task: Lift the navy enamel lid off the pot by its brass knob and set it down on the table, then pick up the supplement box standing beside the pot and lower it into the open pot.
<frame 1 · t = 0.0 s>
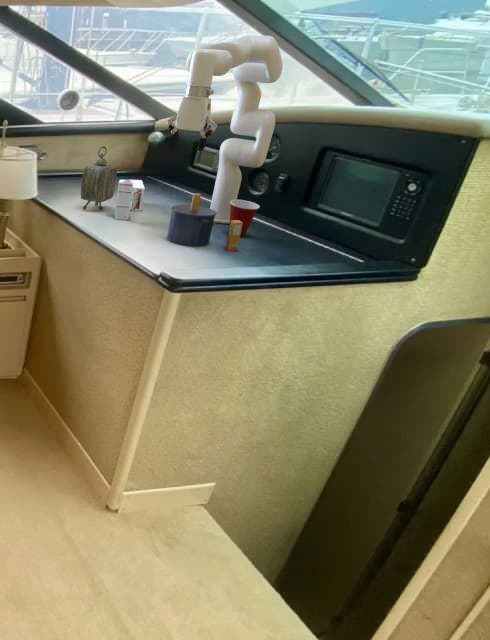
hand: (187, 148, 202), 31 cm above the counter, tool pointing down, fingers open, 9 cm apart
supplement box: (230, 250, 210), on the counter
lid: (193, 211, 212), point 10 cm above the counter, touching pot
syrup box: (121, 218, 243), on the counter
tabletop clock: (96, 209, 254), on the counter
plastic cup: (237, 235, 228), on the counter
pot: (187, 240, 217), on the counter
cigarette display: (133, 206, 263), on the counter
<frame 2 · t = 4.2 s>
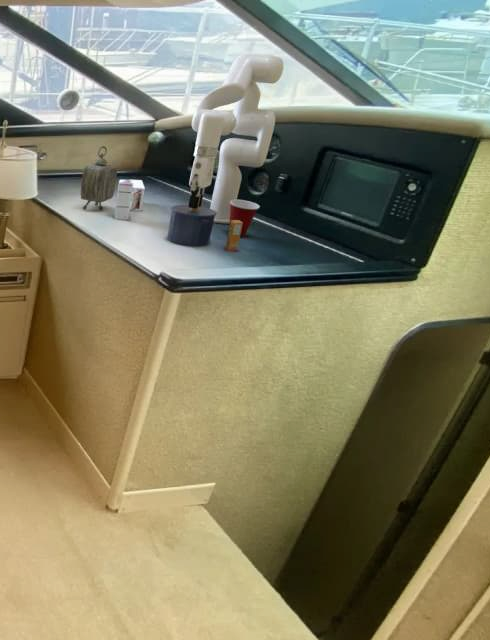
hand: (194, 206, 211), 12 cm above the counter, tool pointing down, fingers closed on lid, 2 cm apart
lid: (193, 211, 212), point 11 cm above the counter, touching gripper, pot
everything else where it was.
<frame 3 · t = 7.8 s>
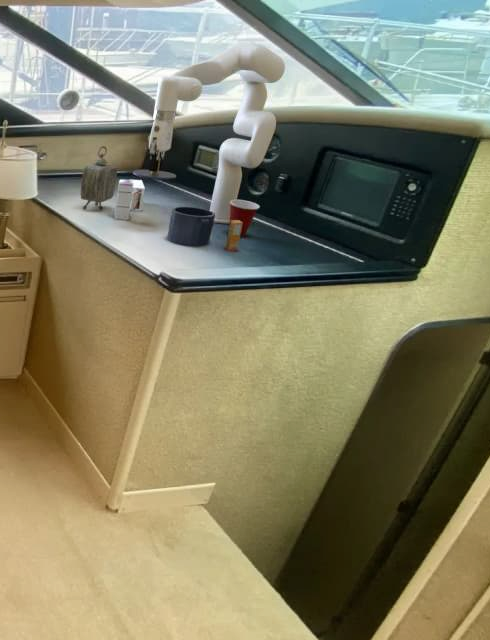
hand: (154, 170, 219), 21 cm above the counter, tool pointing down, fingers closed on lid, 2 cm apart
lid: (154, 175, 220), point 20 cm above the counter, touching gripper
everything else where it was.
when the fingers open (2 cm above the counter, at t = 11.4 s): lid stays where it is, point 1 cm above the counter.
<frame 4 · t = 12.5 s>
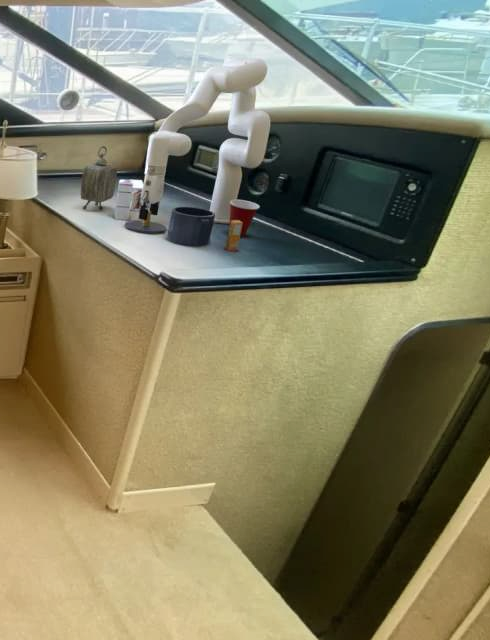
hand: (148, 217, 227), 4 cm above the counter, tool pointing down, fingers open, 9 cm apart
lid: (145, 227, 229), point 1 cm above the counter
everything else where it was.
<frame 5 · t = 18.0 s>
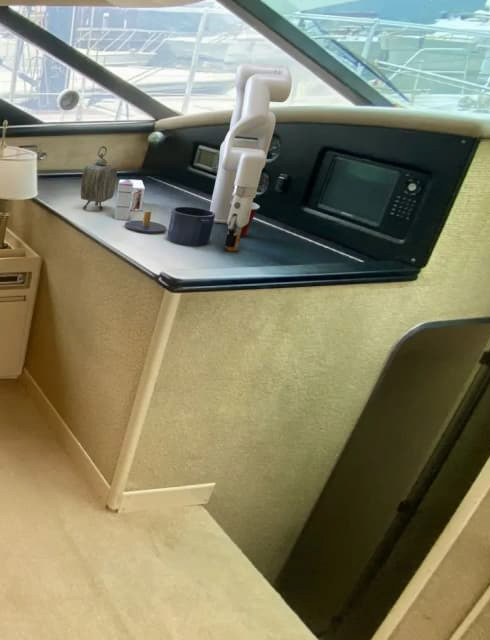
hand: (231, 244, 209), 2 cm above the counter, tool pointing down, fingers closed on supplement box, 4 cm apart
supplement box: (230, 250, 210), on the counter, touching gripper
everything else where it was.
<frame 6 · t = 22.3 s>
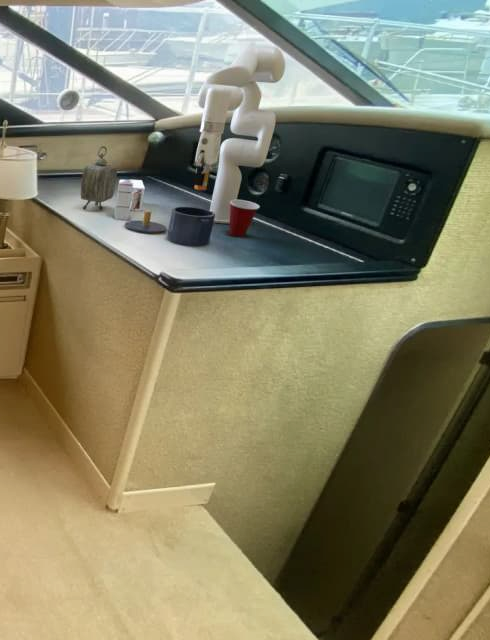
hand: (200, 183, 207), 20 cm above the counter, tool pointing down, fingers closed on supplement box, 4 cm apart
supplement box: (199, 189, 208), point 18 cm above the counter, touching gripper
everything else where it was.
when the fingers open (4 cm above the counter, at t = 27.0 s): supplement box stays where it is, resting on pot.
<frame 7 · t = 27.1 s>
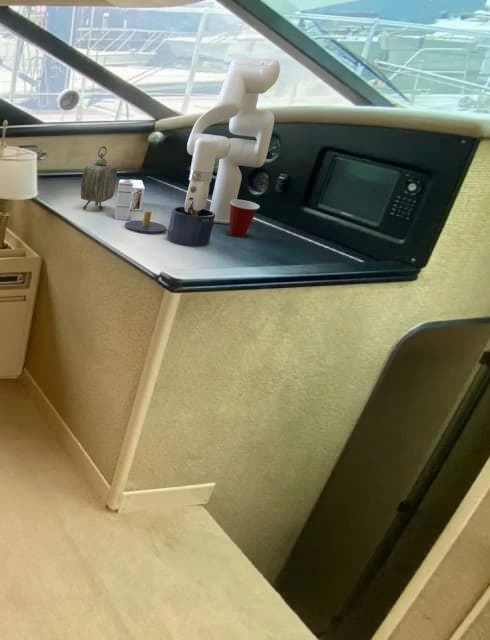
hand: (190, 226, 215), 5 cm above the counter, tool pointing down, fingers open, 6 cm apart
supplement box: (187, 239, 217), resting on pot
everything else where it was.
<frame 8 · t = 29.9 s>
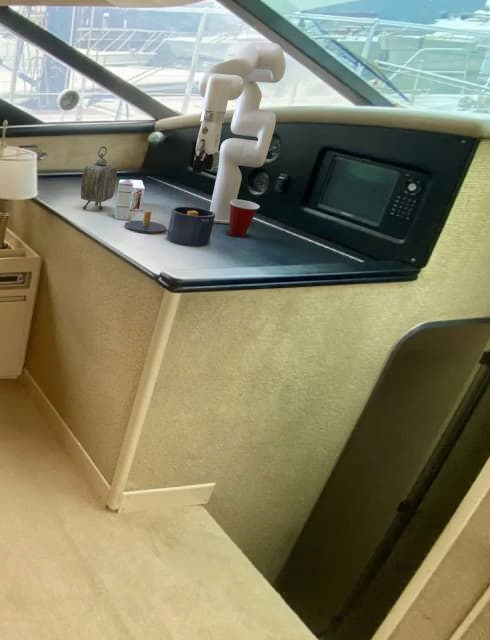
hand: (201, 170, 206), 24 cm above the counter, tool pointing down, fingers open, 9 cm apart
nothing on the counter moved.
at the end: lid inside the target area (0.1 cm from its centre), point 0.6 cm above the counter; lid tilted 0°; supplement box inside the target area in the pot (0.1 cm from its centre), point 0.3 cm above the pot's base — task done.
